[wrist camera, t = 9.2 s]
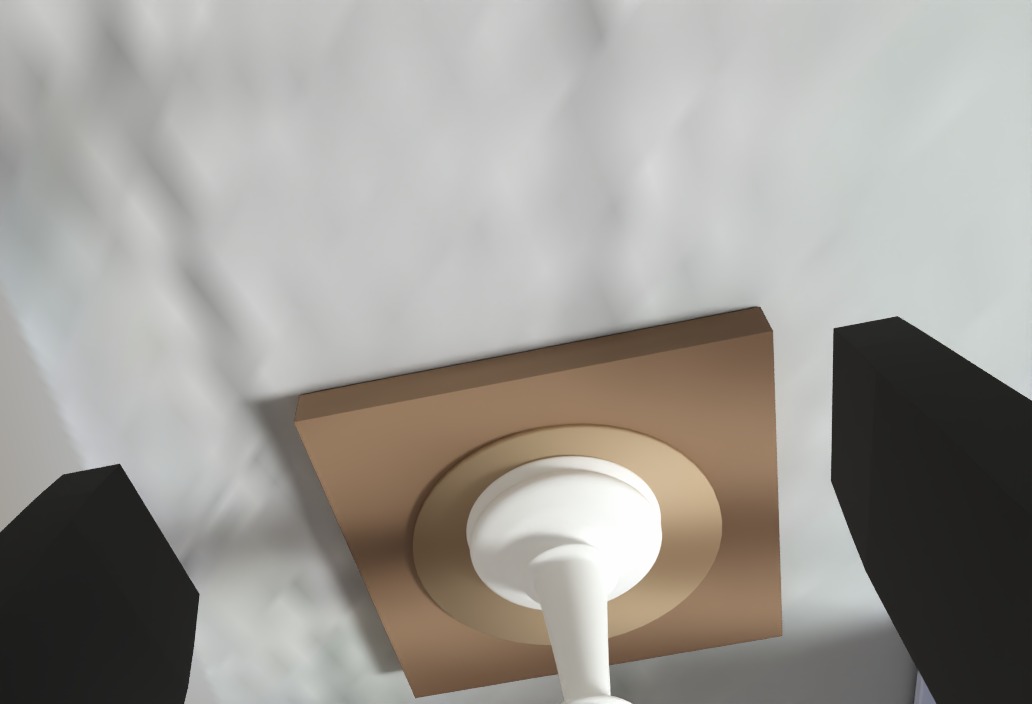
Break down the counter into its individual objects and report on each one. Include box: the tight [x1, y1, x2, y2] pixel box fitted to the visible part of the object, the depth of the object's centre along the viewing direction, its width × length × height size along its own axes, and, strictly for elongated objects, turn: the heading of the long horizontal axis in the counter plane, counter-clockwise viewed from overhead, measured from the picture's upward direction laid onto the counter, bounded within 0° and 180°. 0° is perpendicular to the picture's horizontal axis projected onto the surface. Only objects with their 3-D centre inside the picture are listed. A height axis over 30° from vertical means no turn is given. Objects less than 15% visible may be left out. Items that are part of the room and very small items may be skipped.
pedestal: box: [294, 307, 782, 698], centre depth 24 cm, size 11×11×1 cm
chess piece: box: [466, 456, 662, 704], centre depth 19 cm, size 5×5×10 cm
